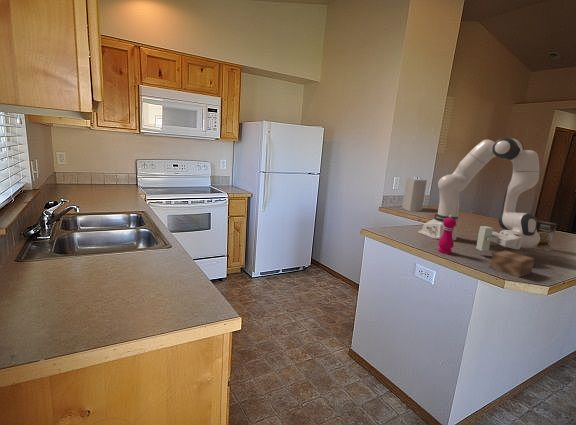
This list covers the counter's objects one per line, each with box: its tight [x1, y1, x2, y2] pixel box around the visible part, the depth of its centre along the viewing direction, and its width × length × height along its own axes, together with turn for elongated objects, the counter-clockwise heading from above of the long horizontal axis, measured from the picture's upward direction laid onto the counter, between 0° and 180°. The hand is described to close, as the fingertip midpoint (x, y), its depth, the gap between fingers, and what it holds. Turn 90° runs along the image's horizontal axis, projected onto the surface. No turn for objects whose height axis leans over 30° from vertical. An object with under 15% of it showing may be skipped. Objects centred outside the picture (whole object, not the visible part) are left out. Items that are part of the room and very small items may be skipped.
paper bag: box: [402, 177, 428, 212], centre depth 291 cm, size 19×15×28 cm
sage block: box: [475, 225, 494, 252], centre depth 163 cm, size 4×4×12 cm
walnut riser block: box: [489, 250, 535, 278], centre depth 144 cm, size 12×12×7 cm
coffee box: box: [529, 220, 558, 253], centre depth 185 cm, size 9×6×16 cm
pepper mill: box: [437, 215, 457, 255], centre depth 164 cm, size 7×7×20 cm
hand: (483, 237), depth 163 cm, fingers closed on sage block, 4 cm apart
